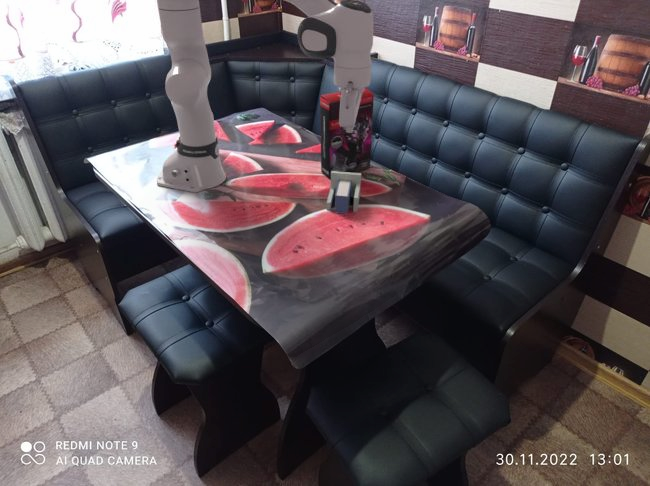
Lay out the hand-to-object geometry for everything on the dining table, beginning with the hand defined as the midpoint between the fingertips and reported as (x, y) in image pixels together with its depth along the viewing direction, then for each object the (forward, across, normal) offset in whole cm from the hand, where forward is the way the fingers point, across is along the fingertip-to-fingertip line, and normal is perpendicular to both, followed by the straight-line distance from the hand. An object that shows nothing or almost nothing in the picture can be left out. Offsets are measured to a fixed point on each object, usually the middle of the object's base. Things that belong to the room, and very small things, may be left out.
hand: (349, 130), depth 124 cm
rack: (+29, +13, +2) cm, 32 cm away
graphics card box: (+29, +34, +4) cm, 45 cm away
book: (+29, +11, +2) cm, 31 cm away
